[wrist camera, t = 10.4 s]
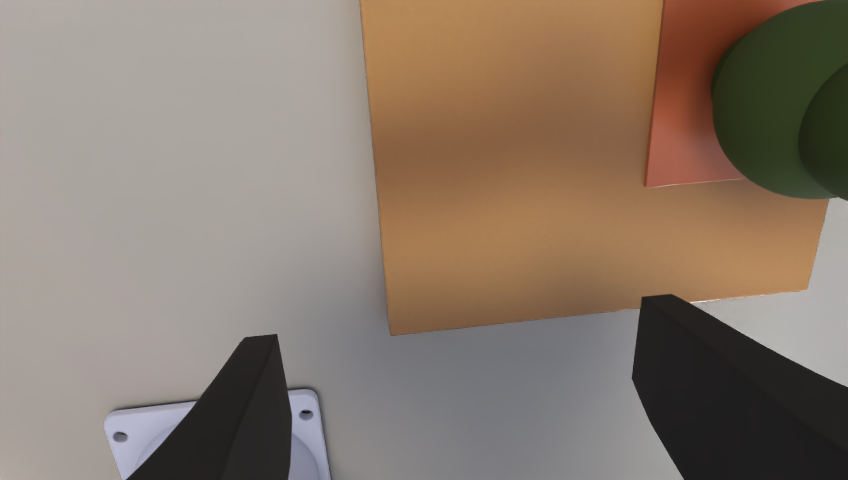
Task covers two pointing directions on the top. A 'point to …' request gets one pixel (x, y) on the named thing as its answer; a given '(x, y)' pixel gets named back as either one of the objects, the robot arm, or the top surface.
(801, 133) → the avocado
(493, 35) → the board
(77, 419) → the top surface
